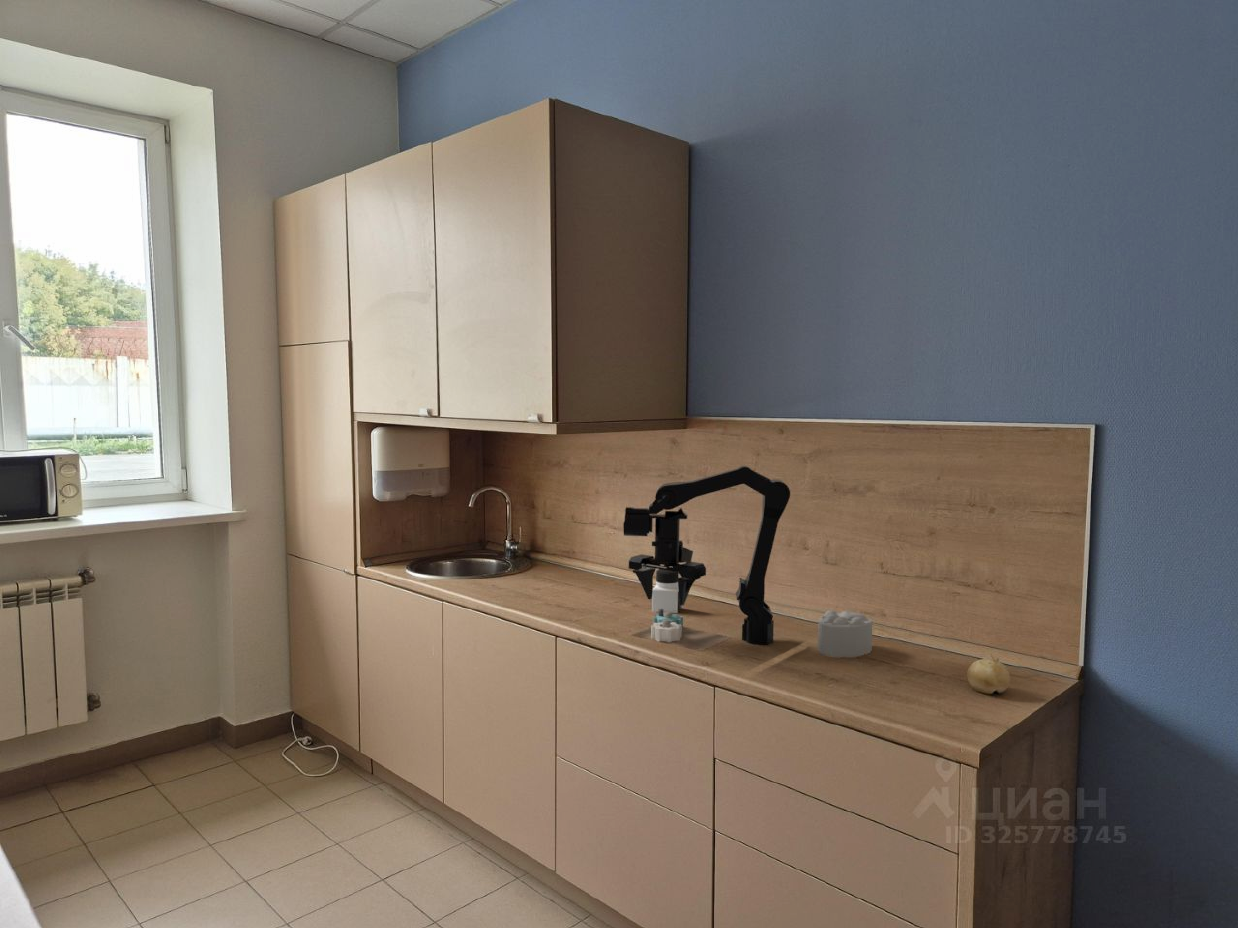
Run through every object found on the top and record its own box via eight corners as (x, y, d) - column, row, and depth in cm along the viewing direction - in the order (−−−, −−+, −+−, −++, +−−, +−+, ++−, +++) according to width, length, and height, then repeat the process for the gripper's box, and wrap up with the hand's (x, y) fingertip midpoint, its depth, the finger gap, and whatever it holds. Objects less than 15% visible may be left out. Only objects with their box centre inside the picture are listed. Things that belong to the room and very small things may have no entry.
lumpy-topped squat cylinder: (877, 650, 198) (879, 614, 197) (843, 661, 190) (844, 623, 189) (840, 640, 206) (841, 605, 205) (806, 650, 198) (807, 613, 197)
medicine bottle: (678, 616, 227) (678, 572, 226) (651, 615, 228) (652, 571, 227) (681, 610, 234) (682, 567, 233) (655, 608, 235) (656, 565, 234)
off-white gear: (670, 643, 198) (670, 631, 198) (645, 638, 202) (645, 626, 202) (687, 637, 204) (687, 624, 204) (662, 632, 208) (662, 619, 208)
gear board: (731, 641, 204) (732, 620, 204) (701, 654, 193) (701, 633, 193) (662, 627, 216) (663, 607, 216) (630, 639, 205) (630, 618, 205)
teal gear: (688, 628, 212) (688, 610, 211) (672, 634, 206) (672, 615, 205) (664, 623, 216) (664, 605, 216) (647, 629, 210) (648, 611, 210)
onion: (1010, 700, 166) (1011, 664, 165) (966, 694, 169) (967, 659, 169) (1008, 687, 173) (1010, 653, 173) (966, 682, 176) (968, 648, 176)
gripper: (718, 537, 202) (717, 602, 203) (654, 529, 213) (652, 590, 214) (693, 543, 193) (692, 610, 194) (627, 534, 204) (626, 598, 206)
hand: (665, 602), depth 202 cm, fingers open, 9 cm apart
